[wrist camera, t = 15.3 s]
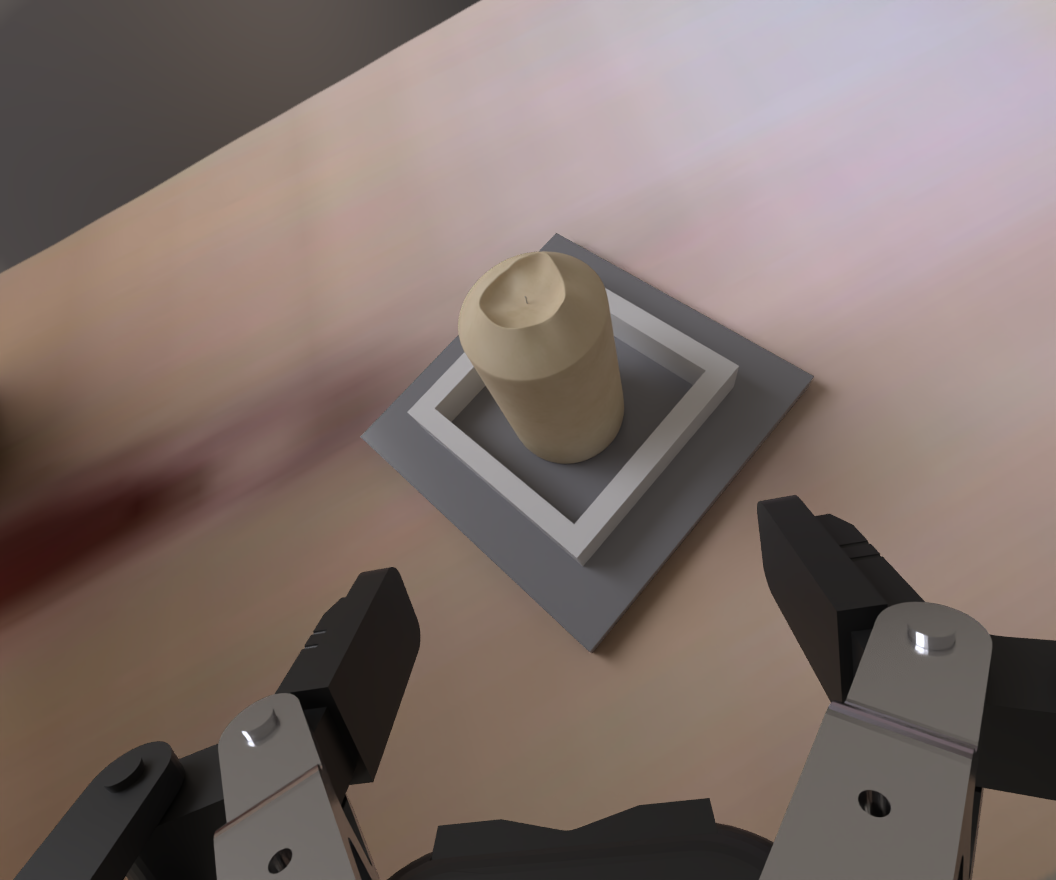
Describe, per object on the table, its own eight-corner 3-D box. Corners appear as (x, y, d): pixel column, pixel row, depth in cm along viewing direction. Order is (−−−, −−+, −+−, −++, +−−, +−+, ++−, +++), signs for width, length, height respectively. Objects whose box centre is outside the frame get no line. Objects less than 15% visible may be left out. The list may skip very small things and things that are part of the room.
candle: (553, 348, 29) (502, 203, 20) (646, 392, 27) (636, 253, 18) (493, 433, 28) (412, 320, 19) (585, 486, 26) (543, 386, 17)
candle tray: (592, 652, 24) (583, 650, 21) (369, 443, 31) (340, 421, 28) (808, 386, 27) (825, 353, 24) (559, 245, 33) (550, 206, 30)
